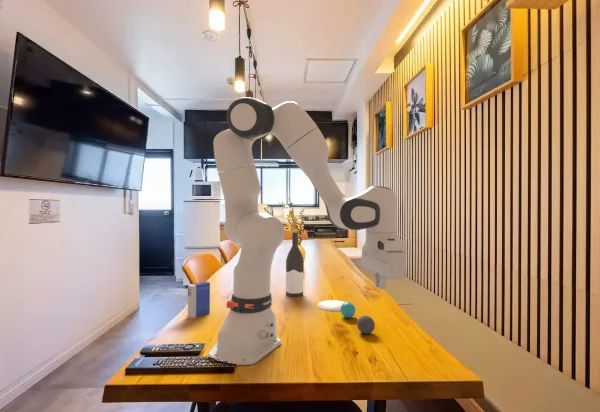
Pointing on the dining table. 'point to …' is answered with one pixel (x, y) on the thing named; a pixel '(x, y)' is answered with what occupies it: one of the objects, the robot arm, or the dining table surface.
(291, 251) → the wine bottle
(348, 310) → the teal ball
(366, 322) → the gray ball
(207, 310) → the walkman
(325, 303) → the cream mark
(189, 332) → the dining table surface
